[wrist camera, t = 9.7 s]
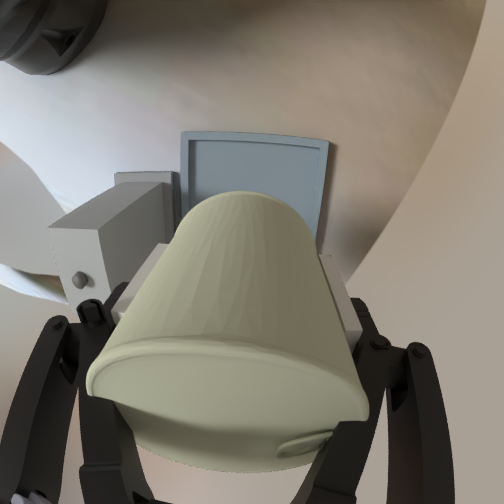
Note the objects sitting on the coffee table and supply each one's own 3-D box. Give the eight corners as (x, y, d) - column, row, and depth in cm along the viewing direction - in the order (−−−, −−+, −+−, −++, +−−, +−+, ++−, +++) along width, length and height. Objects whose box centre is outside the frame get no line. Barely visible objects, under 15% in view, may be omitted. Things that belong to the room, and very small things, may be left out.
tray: (184, 131, 25) (180, 132, 24) (326, 140, 25) (328, 141, 24) (186, 256, 32) (184, 261, 31) (308, 265, 32) (309, 270, 31)
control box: (117, 172, 27) (31, 217, 14) (173, 171, 27) (103, 218, 14) (125, 250, 32) (65, 324, 19) (176, 253, 32) (130, 339, 19)
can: (308, 317, 19) (334, 477, 8) (183, 315, 19) (136, 466, 9) (322, 190, 15) (431, 350, 4) (163, 192, 15) (24, 331, 5)
